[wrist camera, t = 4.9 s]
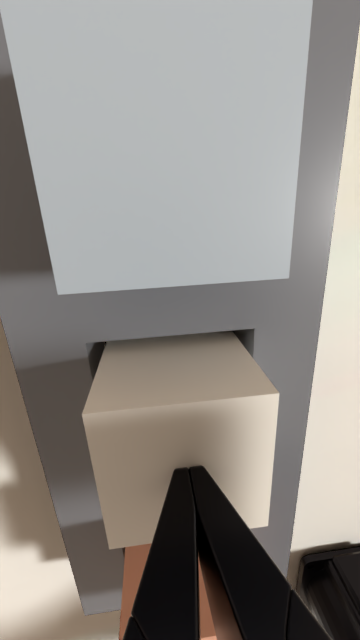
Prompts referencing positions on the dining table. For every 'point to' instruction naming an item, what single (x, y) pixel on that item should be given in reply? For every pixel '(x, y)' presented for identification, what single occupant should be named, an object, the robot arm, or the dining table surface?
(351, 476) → the dining table surface
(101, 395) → the cream key
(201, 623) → the terracotta key
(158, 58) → the light grey cube
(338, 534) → the dining table surface
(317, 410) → the dining table surface
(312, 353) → the grey slotted tray
